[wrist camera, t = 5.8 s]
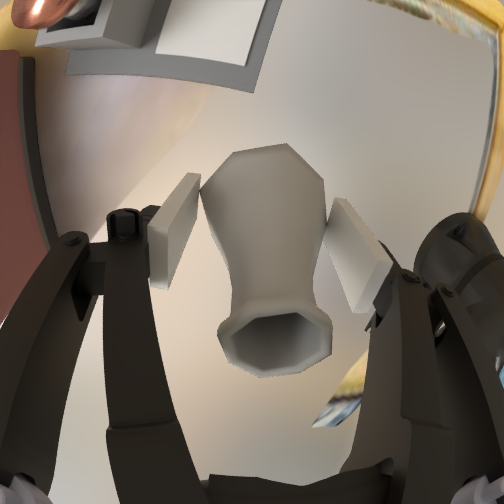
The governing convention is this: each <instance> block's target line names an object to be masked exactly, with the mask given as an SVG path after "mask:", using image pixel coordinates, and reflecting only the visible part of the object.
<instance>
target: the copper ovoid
mask: <svg viewBox="0 0 504 504" xmlns="http://www.w3.org/2000/svg"><path fill="white" fill-rule="evenodd" d="M101 2H102V0H14V3H13V6H12V12H11V17H12V22H13V24H14V25H15V26H16V27H18V28H26V29H36V30H42V29H46V28H49V27H51V26H53V25H55V24H56V23H58V22H59V21H60V20H62V19H63V18H68V19H72V20H75V21H79V22H83V23H87V24H90V23H94V22H95V20H96V17H97V14H98V11H99V8H100V5H101Z"/></svg>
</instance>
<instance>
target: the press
mask: <svg viewBox="0 0 504 504" xmlns="http://www.w3.org/2000/svg"><path fill="white" fill-rule="evenodd" d="M281 2H282V0H102V2H101V5H100V8H99V11H98V14H97V17H96V20H95V22H94V23H90V24H87V23H83V22H79V21H75V20H72V19H68V18H63V19H62V20H60V21H59V22H58V23H56V24H55V25H53V26H51V27H49V28H46V29H42V30H39V31H38V35H37V38H36V42H35V46H34V47H49V48H61V49H70V53H69V58H68V62H67V67H66V72H65V75H95V74H106V75H135V76H149V77H160V78H170V79H178V80H185V81H192V82H199V83H205V84H211V85H216V86H221V87H227V88H231V89H237V90H241V91H245V92H249V93H254V89H255V86H256V82H257V79H258V75H259V72H260V68H261V65H262V62H263V58H264V55H265V52H266V49H267V46H268V43H269V39H270V36H271V33H272V30H273V27H274V24H275V20H276V17H277V15H278V12H279V9H280V6H281Z"/></svg>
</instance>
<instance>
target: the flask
mask: <svg viewBox="0 0 504 504" xmlns="http://www.w3.org/2000/svg"><path fill="white" fill-rule="evenodd" d="M199 192H200V196H201V199H202V203H203V206H204V210H205V214H206V217H207V221H208V224H209V228H210V231H211V235H212V237H213V239H214V241H215V243H216V245H217V247H218V249H219V251H220V253H221V255H222V256H223V259H224V261H225V264H226V266H227V268H228V270H229V273H230V279H231V285H232V301H231V313H230V316H229V317H228V318H227V319H226V320H224V321H223V322H222V323H221V324H220V326H219V328H218V330H217V336H218V339H219V341H220V344H221V346H222V348H223V351H224V353H225V355H226V357H227V360H228V362H229V363H230V364H232V365H235V366H236V367H238V368H240V369H242V370H244V371H246V372H249V373H251V374H253V375H255V376H257V377H259V378H263V377H273V376H280V375H289V374H296V373H300V372H302V371H304V370H306V369H307V368H309V367H311V366H312V365H314V364H316V363H318V362H320V361H321V360H323V359H325V358H326V357H328V356H330V355H331V354H332V330H333V326H332V321H331V319H330V318H329V316H328V315H327V314H326V313H325V312H323V311H322V310H321V309H319V308H318V307H317V306H316V301H315V297H314V293H313V274H314V270H315V266H316V262H317V258H318V254H319V250H320V247H321V243H322V240H323V237H324V234H325V231H326V227H327V218H326V204H325V192H324V182H323V179H322V178H321V177H320V176H319V174H318V173H317V172H316V171H315V170H314V169H313V168H312V167H311V166H310V165H309V164H308V163H307V162H306V161H305V160H304V159H303V158H302V157H301V156H300V155H299V154H298V153H297V152H295V150H293V149H292V148H291V147H290V146H289V145H288V144H287V143H286V144H279V145H273V146H266V147H260V148H254V149H248V150H243V151H238V152H233V153H232V154H231V155H230V156H229V157H228V158H227V159H226V160H225V162H224V163H223V164H222V165H221V166H220V167H219V168H218V169H217V170H216V172H215V173H214V174H213V175H212V176H211V177H210V178H209V179H208V181H207V182H206V183H205V184H204V185H203V186H202V187H201V189H200V190H199Z"/></svg>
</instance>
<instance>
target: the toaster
mask: <svg viewBox="0 0 504 504" xmlns="http://www.w3.org/2000/svg"><path fill="white" fill-rule="evenodd" d="M57 240H58V236H57V233H56V229H55V226H54V222H53V218H52V214H51V210H50V206H49V202H48V198H47V193H46V189H45V184H44V179H43V173H42V168H41V162H40V155H39V148H38V140H37V131H36V120H35V104H34V58H33V57H20V52H18V51H16V50H0V324H1V323H2V322H3V320H4V319H5V318H6V316H7V315H8V313H9V312H10V310H11V308H12V307H13V305H14V303H15V302H16V300H17V298H18V297H19V295H20V293H21V292H22V290H23V288H24V287H25V285H26V284H27V282H28V281H29V279H30V277H31V276H32V274H33V273H34V271H35V270H36V269H37V267H38V266H39V264H40V263H41V261H42V260H43V258H44V257H45V256H46V254H47V253H48V252H49V250H50V249H51V248H52V246H53V245H54V244H55V242H56V241H57Z"/></svg>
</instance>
